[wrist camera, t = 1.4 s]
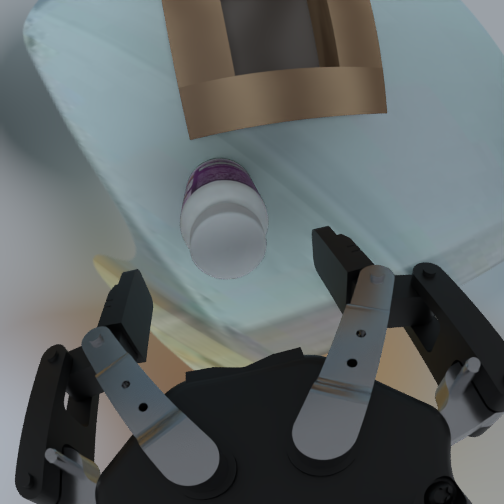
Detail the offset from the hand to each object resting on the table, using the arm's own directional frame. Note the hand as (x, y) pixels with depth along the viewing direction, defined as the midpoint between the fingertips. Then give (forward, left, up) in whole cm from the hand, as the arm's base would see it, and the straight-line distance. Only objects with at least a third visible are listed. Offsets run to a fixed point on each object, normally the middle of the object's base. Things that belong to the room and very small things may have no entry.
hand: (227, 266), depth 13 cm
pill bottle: (0, 0, -12) cm, 12 cm away
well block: (-6, -12, -12) cm, 18 cm away
